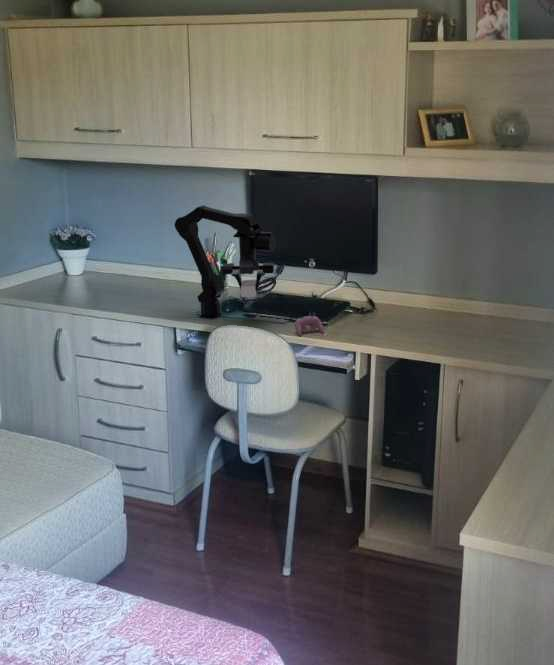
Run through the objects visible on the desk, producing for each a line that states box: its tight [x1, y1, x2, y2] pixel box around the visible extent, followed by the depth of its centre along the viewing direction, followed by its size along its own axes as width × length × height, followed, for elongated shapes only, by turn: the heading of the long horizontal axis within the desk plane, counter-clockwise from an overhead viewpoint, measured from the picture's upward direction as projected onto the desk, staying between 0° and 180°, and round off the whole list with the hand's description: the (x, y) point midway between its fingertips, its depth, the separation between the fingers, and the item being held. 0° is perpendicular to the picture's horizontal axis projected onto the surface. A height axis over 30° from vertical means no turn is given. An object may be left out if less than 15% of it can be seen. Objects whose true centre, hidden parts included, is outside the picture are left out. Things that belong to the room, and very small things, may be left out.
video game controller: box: [294, 315, 325, 337], centre depth 311 cm, size 10×5×7 cm, turn 108°
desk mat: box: [252, 315, 290, 325], centre depth 329 cm, size 13×11×1 cm
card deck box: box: [240, 279, 258, 298], centre depth 323 cm, size 5×9×4 cm, turn 177°
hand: (249, 291), depth 323 cm, fingers closed on card deck box, 5 cm apart
